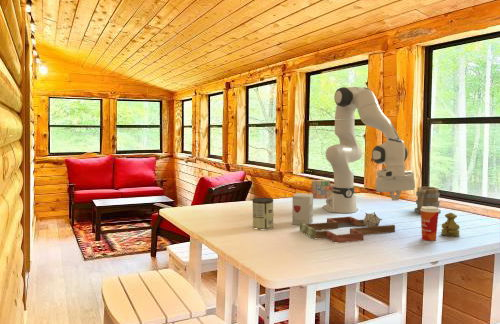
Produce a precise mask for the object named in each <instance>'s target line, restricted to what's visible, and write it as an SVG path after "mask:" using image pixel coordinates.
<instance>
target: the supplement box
mask: <svg viewBox="0 0 500 324" xmlns="http://www.w3.org/2000/svg"><path fill="white" fill-rule="evenodd" d="M291 211H292V213H291V214H292V219H291V221H292V223H291V224H292V225H295V226H300V223H304V224H313V222H314V221H313V220H314V219H313V218H314V217H313V216H314V199H313V194H312V193H306V192H305V193H302V192H296V193H294V194H293V195H292V210H291Z"/></svg>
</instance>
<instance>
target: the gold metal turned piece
mask: <svg viewBox="0 0 500 324" xmlns="http://www.w3.org/2000/svg"><path fill="white" fill-rule="evenodd" d="M444 217H445V218H446V219H447V220H446V221H445V222H443V223H442V224H441V228H442V229H441V230H440V231H441V235H442V236H445V237H449V238H450V237H451V238H454V237H455V238H456V237H459V236H460V228H461V227H460V225H459V224H458V223H457V222H456V221H455V219H456V218H458V216H457V215H456V214H454V213H453V212H448V213H446V214H444Z"/></svg>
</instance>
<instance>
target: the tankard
mask: <svg viewBox="0 0 500 324" xmlns="http://www.w3.org/2000/svg"><path fill="white" fill-rule="evenodd" d="M415 193H416V194H415V195H416V197H417V199H416V200H415V204H416V205H417V207H415V208H414V212H415V213H417V214H421V210H420V209H421V207H422V206H424V207H425V206H433V207H437V208H438V210H439V212H438V215H439V214H441V209H440V208H439V206H440V201H439V198H440V196H441V193H440V192H439V188H438V187H434V186H419V187H417V191H415Z"/></svg>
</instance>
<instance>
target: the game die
mask: <svg viewBox="0 0 500 324" xmlns="http://www.w3.org/2000/svg"><path fill="white" fill-rule="evenodd" d="M363 220H364V221H363V222H361V223H364V224H365V225H366V226H365V227H374V226H380V225H379V224H380V222H381V221H382V220H383V218H380V217H378V215H377V214H376V212H375V211H374V212H373V213H366V212H365V216H364V219H363Z"/></svg>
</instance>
